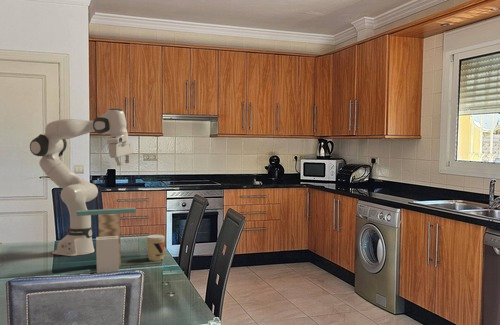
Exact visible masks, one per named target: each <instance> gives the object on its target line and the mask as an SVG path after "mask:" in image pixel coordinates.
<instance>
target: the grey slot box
mask: <svg viewBox="0 0 500 325" xmlns="http://www.w3.org/2000/svg"><path fill="white" fill-rule="evenodd" d="M95 243H96V245H95V247H96V249H95V250H96V252H95V253H96V254H95V255H96V274H97V273H100V272H106V271H107V272H109V271H118V270H119V271H120V266H119V242H118V236H107V237H99V236H96V237H95Z"/></svg>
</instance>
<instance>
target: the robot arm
mask: <svg viewBox="0 0 500 325" xmlns="http://www.w3.org/2000/svg"><path fill="white" fill-rule="evenodd" d="M44 129H45V130H44V134H43V133H41V134H38V136H37V137H35V138H33V139H32V140H31V141H30V143H29V151H30V152H31V154H32V155H34V156H36V157H41V158H40V159H39V167H40V168H41V170H42V172H44V174H45V175H46V176H47V177H48V178H49V179H50V180H51V181H52V182H53V183H55V185H56V186H58V187H59V188H61V192H60V199H61V200H62V202H63V203H64V204H65V205H66V208H67V209H68V213H69V223H70V224H69V225H70V228H68V229H66V231H65V232H66V233H67V234H66V235H65V236H64V237H63V238H62V239H60V240H59V241H58V242H57V245H56V246H57V247H56V249H55V250H53V251H52V254H53V255H61V256H69V257H75V256H83V255H89V254H92V253H94V252H95V250H96V249H95V248H94V247H95V246H94V243H93V242H94V241H93V227H92V215H86V216H77V211H80V210H89V209H88V208H87V204H86V203H87V202H90V201H92V200H94V199H95V198H97V196H98V195H99V191H98V187H97V186H96V184H94V183H91V182H90V181H87V180H85V179H84V178H83V177H81V176H80V175H78V174H76V173H75V172H73V171H72V170H71V169H70V168H69V167H68V166H67V164H65V163H64V162H63V161H62V160H61V159H60V157H62V156H63V154H64V152H65V151H66V149H67V146H68V143H67V140H70V139H73V138H77V137H80V136H83V135H87V134H88V133H89V134H90V133H94V132H95V133H96V134H98V135H106V134H110V136H109V138H107V139H106V143H107V144H108V146H107V147H108V149H107V150H108V154H109V157H110V158H112V159H114V160H115V162H116V165H117V166H118V167H119V166H122V161H121V160H120V159H121V157H123V156H124V157H125V160H124V163H125V164H129V163H130V159H131V158H130V156H131V154H133V153H134V150H133V143H132V142H131V140H130V139H129V133H128V130H127V120H126V115H125V112H124V110H123V109H121V108H113V107H112V108H109V109H107V111H106V112H105V113H103V114H101V115H100V116H97V117H95V118H94V119H93V120H84V119H72V118H63V119H57V120H53V121H51V122H48V123H47V125H46V126H45V128H44ZM107 144H106V145H107Z"/></svg>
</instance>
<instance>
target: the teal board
mask: <svg viewBox="0 0 500 325" xmlns="http://www.w3.org/2000/svg"><path fill="white" fill-rule="evenodd" d="M136 213H137V208H136V207H126V208H107V209H106V208H105V209H104V208H103V209H88V210H80V211H77V216H86V215H91V216H98V215H105V214H120V215H121V214H136Z"/></svg>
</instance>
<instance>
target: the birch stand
mask: <svg viewBox="0 0 500 325" xmlns="http://www.w3.org/2000/svg"><path fill="white" fill-rule="evenodd" d="M120 215H121V214H105V215H97V217H98V218H97V219H98V237H107V236H118V242H119V267H121V266H122V263H121V262H122V259H121V224H120V223H121V218H120Z"/></svg>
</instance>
